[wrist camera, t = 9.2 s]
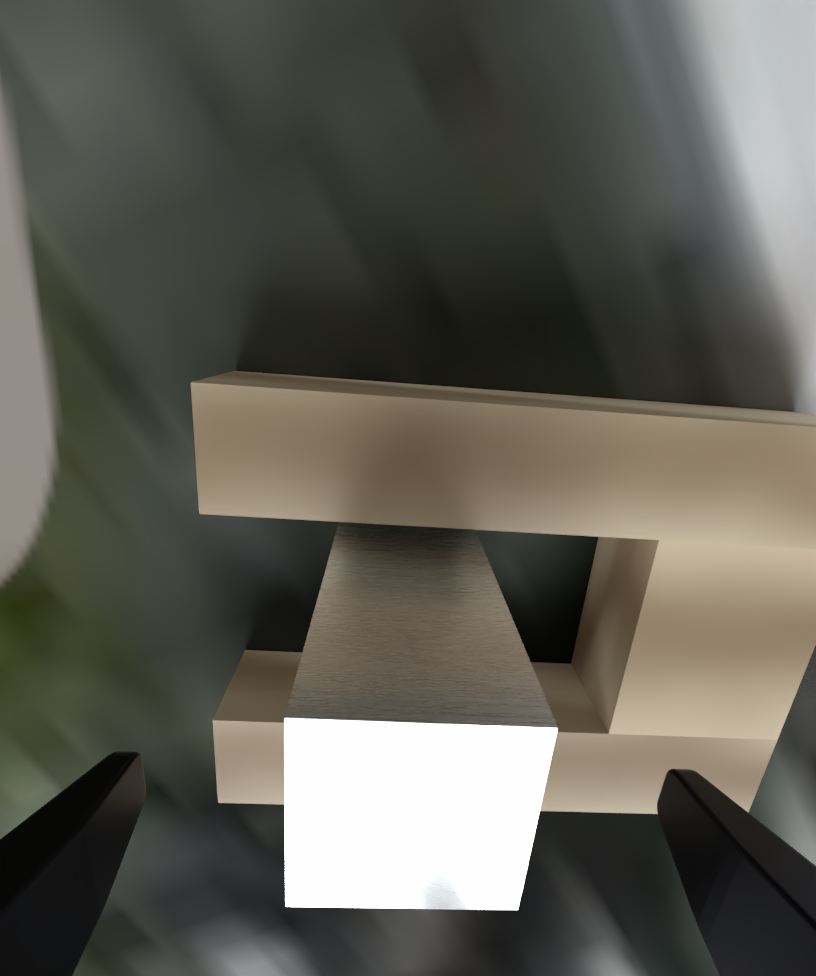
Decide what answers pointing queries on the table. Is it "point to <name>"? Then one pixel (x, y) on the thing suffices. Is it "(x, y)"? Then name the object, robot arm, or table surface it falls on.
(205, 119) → the table surface
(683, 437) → the notched board
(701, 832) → the robot arm
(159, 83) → the table surface
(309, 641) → the grey peg
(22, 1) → the table surface
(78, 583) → the table surface
